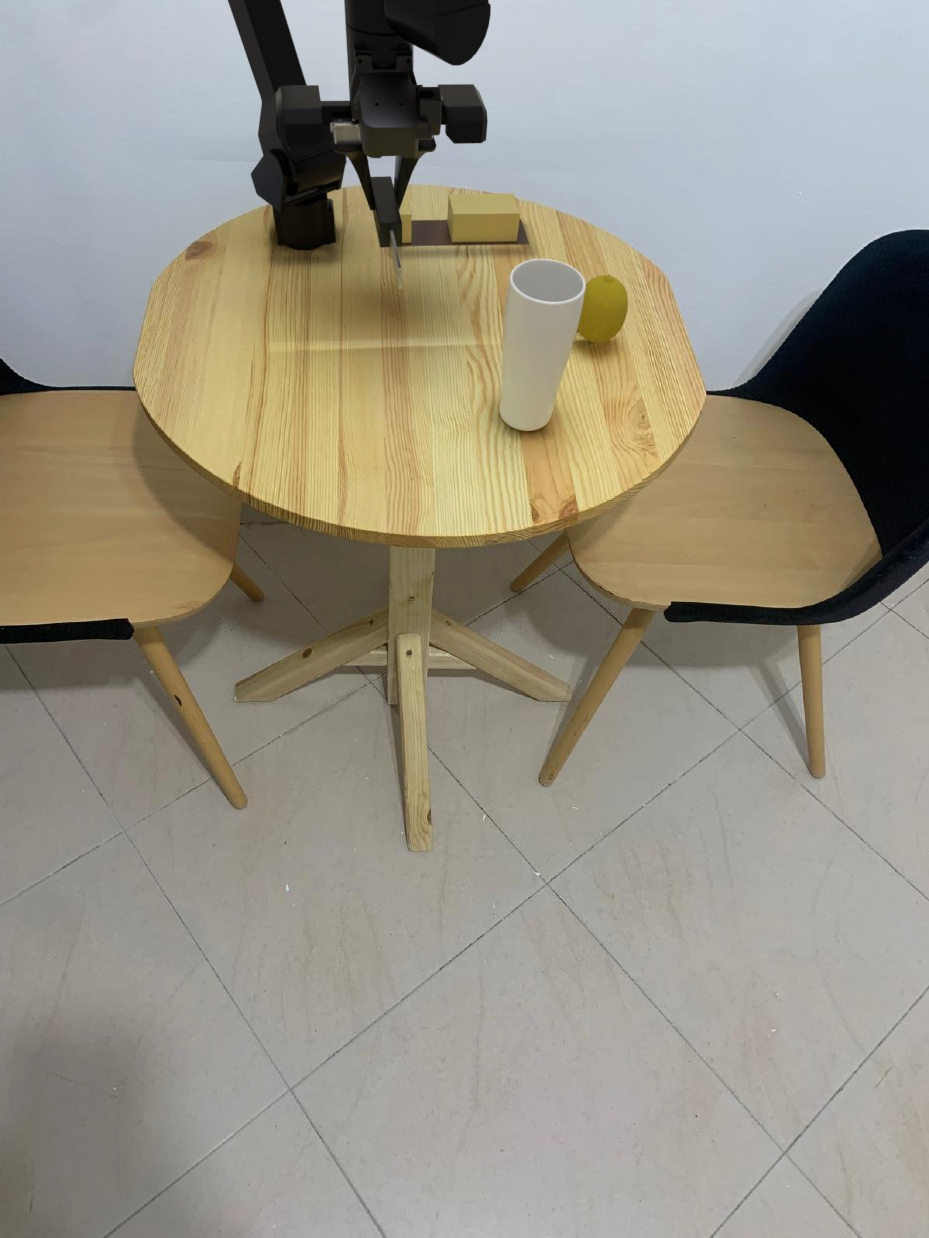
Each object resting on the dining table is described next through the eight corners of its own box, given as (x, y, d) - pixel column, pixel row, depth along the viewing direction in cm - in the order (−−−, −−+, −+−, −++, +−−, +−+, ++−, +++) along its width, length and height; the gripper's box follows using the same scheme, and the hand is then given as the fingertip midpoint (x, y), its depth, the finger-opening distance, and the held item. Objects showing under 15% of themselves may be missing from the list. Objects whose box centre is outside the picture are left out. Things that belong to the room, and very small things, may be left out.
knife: (388, 289, 71) (387, 264, 69) (370, 200, 80) (369, 176, 78) (411, 288, 71) (412, 264, 69) (391, 200, 80) (391, 176, 78)
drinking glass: (499, 442, 76) (518, 306, 64) (485, 396, 80) (500, 259, 67) (565, 435, 77) (597, 301, 65) (548, 390, 81) (575, 255, 68)
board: (398, 254, 93) (398, 246, 92) (394, 228, 96) (394, 220, 95) (528, 252, 95) (529, 244, 94) (520, 226, 98) (521, 219, 97)
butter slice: (398, 243, 92) (398, 214, 89) (395, 222, 94) (394, 194, 92) (411, 243, 92) (411, 214, 89) (407, 222, 95) (407, 193, 92)
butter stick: (451, 242, 93) (453, 214, 90) (447, 222, 95) (448, 193, 92) (516, 241, 94) (520, 213, 91) (510, 221, 96) (513, 193, 94)
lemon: (620, 360, 84) (638, 294, 78) (569, 356, 84) (584, 290, 77) (615, 328, 87) (633, 262, 81) (567, 325, 87) (580, 258, 80)
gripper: (268, 63, 59) (293, 257, 72) (507, 63, 61) (490, 250, 74) (264, 6, 65) (288, 194, 78) (482, 8, 68) (470, 190, 80)
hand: (384, 208), depth 77 cm, fingers closed on knife, 2 cm apart
